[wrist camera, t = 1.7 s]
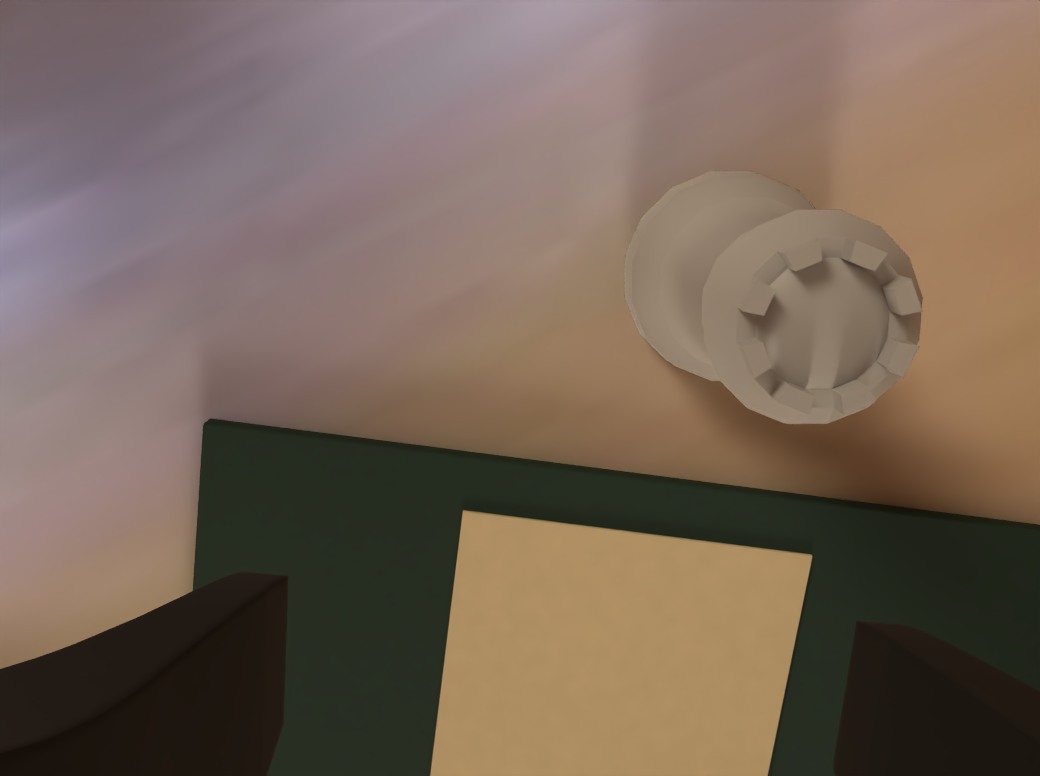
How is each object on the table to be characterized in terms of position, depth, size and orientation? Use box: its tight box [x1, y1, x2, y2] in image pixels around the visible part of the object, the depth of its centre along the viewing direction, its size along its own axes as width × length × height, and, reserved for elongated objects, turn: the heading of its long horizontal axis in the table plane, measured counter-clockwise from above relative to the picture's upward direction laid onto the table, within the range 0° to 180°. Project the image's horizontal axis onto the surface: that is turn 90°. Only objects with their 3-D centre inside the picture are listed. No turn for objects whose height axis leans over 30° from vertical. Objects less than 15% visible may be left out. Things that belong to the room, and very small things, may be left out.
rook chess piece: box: [624, 171, 923, 424], centre depth 18 cm, size 4×4×8 cm
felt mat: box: [193, 419, 1040, 776], centre depth 23 cm, size 20×10×1 cm, turn 83°
